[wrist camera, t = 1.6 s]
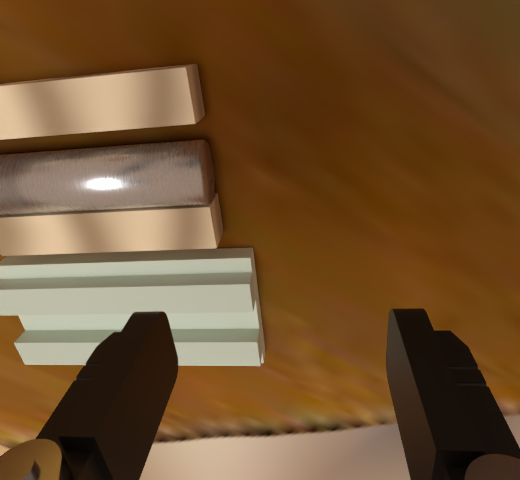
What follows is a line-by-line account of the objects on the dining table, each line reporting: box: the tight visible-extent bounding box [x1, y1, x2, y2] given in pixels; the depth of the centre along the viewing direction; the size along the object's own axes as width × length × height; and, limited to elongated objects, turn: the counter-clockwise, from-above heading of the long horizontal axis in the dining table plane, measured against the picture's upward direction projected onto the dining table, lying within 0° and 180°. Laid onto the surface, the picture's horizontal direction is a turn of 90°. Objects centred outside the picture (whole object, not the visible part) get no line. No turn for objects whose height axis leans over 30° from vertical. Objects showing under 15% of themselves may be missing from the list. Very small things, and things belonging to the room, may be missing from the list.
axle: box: [0, 140, 215, 215], centre depth 26 cm, size 16×4×4 cm, turn 96°
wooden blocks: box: [0, 64, 224, 256], centre depth 26 cm, size 16×11×2 cm
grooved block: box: [0, 247, 265, 366], centre depth 31 cm, size 20×10×3 cm, turn 96°
